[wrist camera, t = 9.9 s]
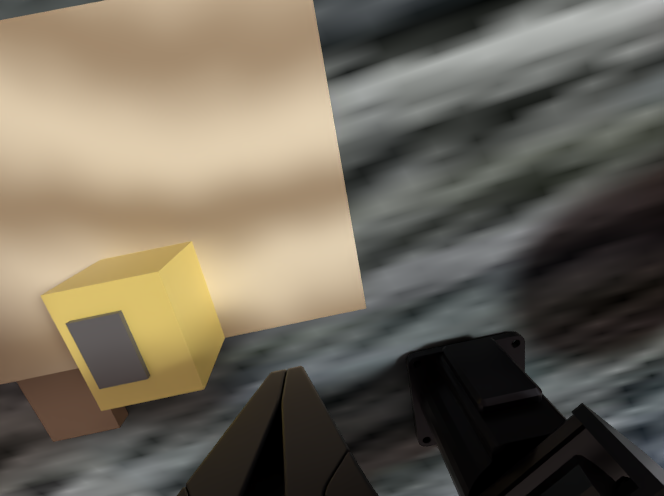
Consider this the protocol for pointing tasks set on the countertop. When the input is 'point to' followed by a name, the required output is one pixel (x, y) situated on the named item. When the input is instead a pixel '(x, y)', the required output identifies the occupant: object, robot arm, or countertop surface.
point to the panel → (165, 172)
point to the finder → (139, 325)
